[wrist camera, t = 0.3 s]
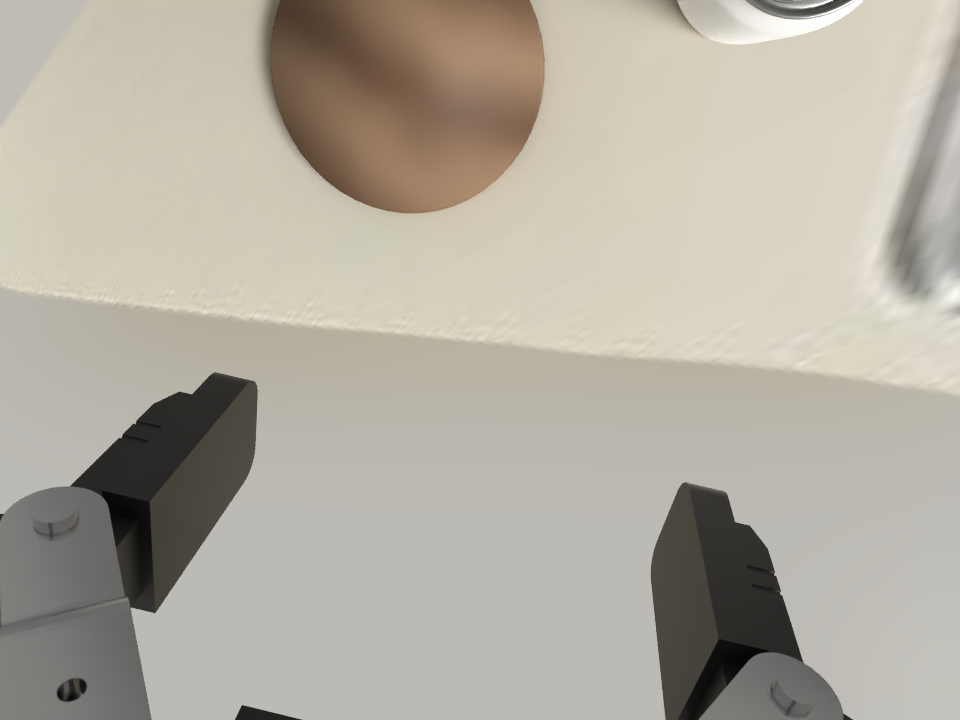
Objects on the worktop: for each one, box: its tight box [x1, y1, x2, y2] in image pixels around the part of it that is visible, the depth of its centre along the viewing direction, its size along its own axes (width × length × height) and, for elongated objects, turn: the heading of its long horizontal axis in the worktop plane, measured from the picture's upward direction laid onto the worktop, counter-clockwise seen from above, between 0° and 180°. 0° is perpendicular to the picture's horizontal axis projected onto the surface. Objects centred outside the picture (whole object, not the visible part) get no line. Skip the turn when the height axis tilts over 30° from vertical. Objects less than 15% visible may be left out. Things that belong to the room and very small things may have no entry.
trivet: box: [271, 0, 544, 213], centre depth 37 cm, size 14×14×1 cm
